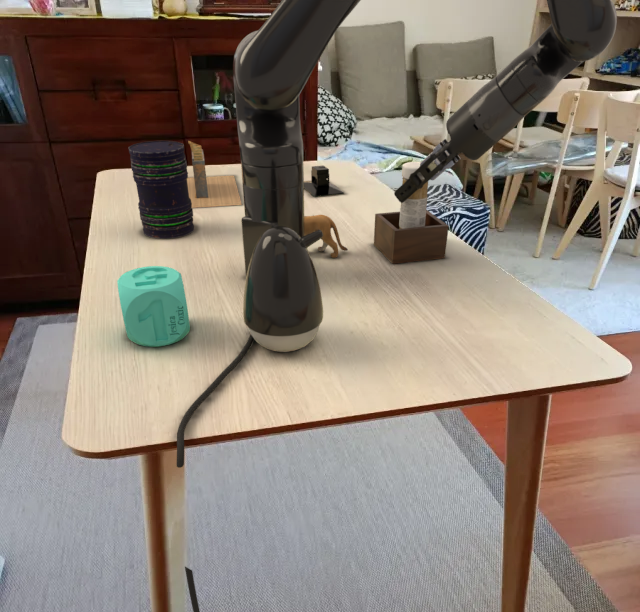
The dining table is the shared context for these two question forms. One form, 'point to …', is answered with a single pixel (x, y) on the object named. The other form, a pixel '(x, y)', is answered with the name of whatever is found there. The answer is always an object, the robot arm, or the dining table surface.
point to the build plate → (321, 183)
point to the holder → (410, 238)
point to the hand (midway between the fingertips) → (403, 193)
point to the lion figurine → (324, 232)
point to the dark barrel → (162, 188)
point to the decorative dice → (153, 306)
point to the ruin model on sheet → (199, 171)
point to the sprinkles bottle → (413, 200)
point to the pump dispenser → (283, 291)
